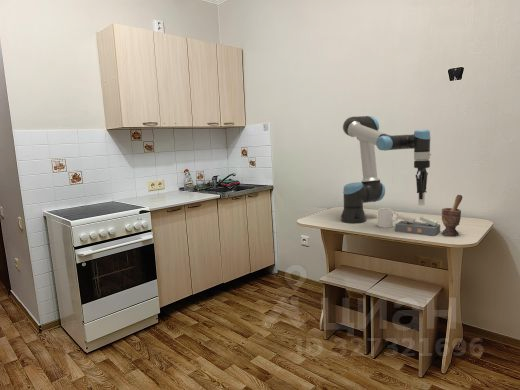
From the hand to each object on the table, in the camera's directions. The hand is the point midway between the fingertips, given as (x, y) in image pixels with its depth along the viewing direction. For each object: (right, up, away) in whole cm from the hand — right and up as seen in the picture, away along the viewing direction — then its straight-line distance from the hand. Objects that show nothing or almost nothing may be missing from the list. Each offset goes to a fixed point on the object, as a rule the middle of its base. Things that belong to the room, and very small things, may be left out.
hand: (421, 205), depth 192 cm
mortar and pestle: (+14, -15, -4) cm, 21 cm away
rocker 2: (+3, -8, -1) cm, 9 cm away
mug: (-11, -13, +17) cm, 24 cm away
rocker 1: (-5, -8, +6) cm, 11 cm away
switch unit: (-1, -14, +4) cm, 15 cm away
